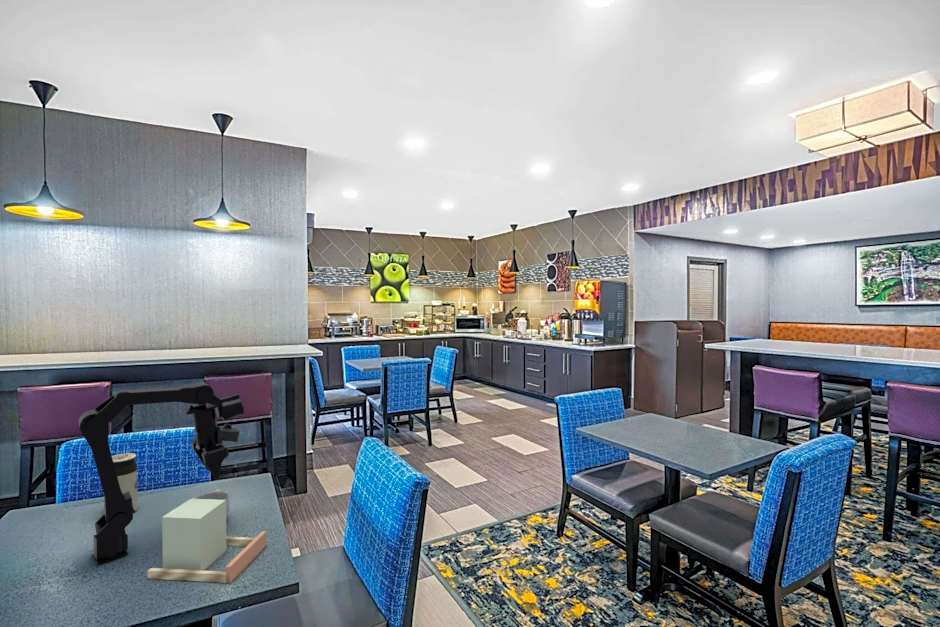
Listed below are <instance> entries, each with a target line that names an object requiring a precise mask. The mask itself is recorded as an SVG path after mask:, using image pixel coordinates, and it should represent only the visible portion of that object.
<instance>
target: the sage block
mask: <svg viewBox="0 0 940 627" xmlns="http://www.w3.org/2000/svg"><path fill="white" fill-rule="evenodd" d="M161 525H162V526H161V528H162V529H161V532H162V544H161V545H162V547H161V549H162V568H163V569H183V570H203V571H206V570H207V569H208V568H209V567H210V566H211V565H212V564H213V563H214V562H215V561H216V560H217V559H218V558H220V556H222V555H223V554H224V553H225V552H226V551H227V546H226V537H227V517H226V500H216V499H193V498H190V499H188V500H187V501H185V502H184V503H182V504H180V505H178V507H175V508H174V509H172V510H171V511H169V512H168V513H166V514H165V515H163V516H162V517H161Z"/></svg>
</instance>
